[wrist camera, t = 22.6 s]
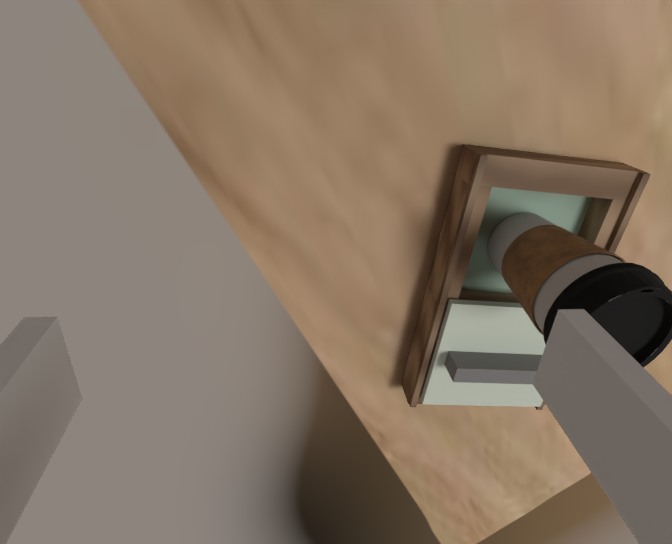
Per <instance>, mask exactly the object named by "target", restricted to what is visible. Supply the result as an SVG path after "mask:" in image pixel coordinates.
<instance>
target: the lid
mask: <svg viewBox="0 0 672 544" xmlns="http://www.w3.org/2000/svg"><path fill="white" fill-rule="evenodd" d="M545 346H546V344H545V341H544V336H543V335H542V334H541V333H540V332H539V331H538V330H537V328H536V327H535V326H534V324H533V323H532V321H531V320H530V318H529V317H528V315H527V314H526V312H525V311H524V309H523V308H522V306H521V305H520V303H507V302H491V301H474V300H457V299H449V302H448V305H447V308H446V312H445V315H444V319H443V322H442V326H441V329H440V333H439V336H438V339H437V343H436V346H435V350H434V353H433V357H432V360H431V364H430V367H429V370H428V374H427V377H426V381H425V384H424V388H423V391H422V394H421V398H420V399H421V402H422V404H432V405H480V406H528V407H540V406H541V404H542V402H543V399H542V398H541V396H540V395H539V393H538V392H537V390H536V389H535V387H534V386H533V381H534V378H535V375H536V372H537V369H538V366H539V363H540V361H541V358H542V355H543V352H544V349H545Z"/></svg>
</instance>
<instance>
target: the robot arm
mask: <svg viewBox="0 0 672 544" xmlns="http://www.w3.org/2000/svg"><path fill="white" fill-rule="evenodd" d="M533 386H534V387H535V389H536V390H537V392H538V393H539V395H540V396H541V398H542V399H543V401H544V402H545V404H546V405H547V407H548V408H549V410H550V411H551V413H552V414H553V416H554V417H555V419H556V420H557V422H558V423H559V425H560V426H561V428H562V429H563V431H564V432H565V434H566V435H567V436H568V438H569V439H570V441H571V442H572V444H573V445H574V447H575V448H576V450H577V451H578V453H579V454H580V456H581V457H582V459H583V460H584V462H585V463H586V465H587V466H588V468H589V469H590V471H591V472H592V474H593V475H594V477H595V478H596V480H597V481H598V483H599V484H600V486H601V487H602V489H603V490H604V492H605V493H606V495H607V496H608V498H609V499H610V501H611V502H612V504H613V505H614V506H615V508H616V510H617V511H618V513H619V514H620V516H621V517H622V519H623V520H624V522H625V523H626V525H627V526H628V528H629V529H630V531H631V532H632V534H633V535H634V537H635V538H636V540H637V541H638V543H639V544H672V395H671V394H670V393H668V392H667V391H666V390H665V389H664V388H663V387H662V386H661V385H660V384H659V383H658V382H657V381H656V380H655V379H654V378H653V377H652V376H651V375H650V374H649V373H648V372H647V371H646V370H645V369H644V368H643V367H642V366H641V365H640V364H639V363H638V362H637V361H636V360H635V359H634V358H633V357H632V356H631V355H630V354H629V353H628V352H627V351H626V350H625V349H624V348H623V347H622V346H621V345H620V344H619V343H618V342H617V341H616V340H615V339H614V338H613V337H612V336H611V335H610V334H609V333H608V332H607V331H606V330H605V329H604V328H603V327H602V326H601V325H600V324H599V323H598V322H597V321H595V320H594V319H593V318H592V317H591V316H590V315H589V314H588V313H587V312H586V311H585V310H584V309H562V310H558V312H557V315H556V317H555V320H554V323H553V326H552V329H551V332H550V335H549V338H548V340H547V343H546V346H545V349H544V352H543V355H542V358H541V361H540V363H539V366H538V369H537V372H536V375H535V378H534V381H533ZM81 401H82V396H81V393H80V390H79V386H78V383H77V380H76V377H75V373H74V370H73V367H72V364H71V360H70V357H69V354H68V350H67V347H66V344H65V341H64V337H63V334H62V331H61V327H60V324H59V321H58V318H57V317H24V318H23V319H22V320H21V322H20V323H19V324H18V325H17V326H16V327H15V328H14V330H13V331H12V332H11V333H10V334H9V335H8V337H7V338H6V339H5V340H4V341H3V342H2V343H1V345H0V544H6V543H7V541H8V539H9V537H10V535H11V533H12V531H13V530H14V528H15V526H16V524H17V522H18V520H19V518H20V516H21V514H22V512H23V511H24V508H25V506H26V505H27V503H28V501H29V499H30V497H31V495H32V493H33V492H34V490H35V488H36V486H37V484H38V482H39V480H40V478H41V476H42V475H43V472H44V471H45V469H46V467H47V465H48V463H49V461H50V459H51V457H52V456H53V454H54V452H55V450H56V448H57V446H58V444H59V442H60V440H61V438H62V437H63V435H64V433H65V431H66V429H67V427H68V425H69V423H70V421H71V419H72V417H73V416H74V414H75V412H76V410H77V408H78V406H79V404H80V402H81Z"/></svg>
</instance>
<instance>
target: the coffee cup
mask: <svg viewBox="0 0 672 544" xmlns="http://www.w3.org/2000/svg"><path fill="white" fill-rule="evenodd" d="M488 255H489V258H490V260H491V262H492V263H493V264H494V266H495V267H496V269H497V270H498V271H499V273H500V274H501V276H502V277H503V278H504V281H505V282H506V284H507V285H508V287H509V288H510V290H511V291H512V293H513V294H514V296H515V297H516V299H517V300H518V302H519V303H520V305H521V306H522V308H523V309H524V311H525V312H526V314H527V315H528V317H529V318H530V320H531V321H532V323H533V324H534V326H535V327H536V328H537V330H538V331H539V332H540V333H541V334H542V335H543V336H544V341H545V344H546V343H547V340H548V338H549V335H550V332H551V329H552V326H553V323H554V320H555V317H556V315H557V312H558V310H562V309H584V310H585V311H586V312H587V313H588V314H589V315H590V316H591V317H592V318H593V319H594V320H595V321H597V322H598V323H599V324H600V325H601V326H602V327H603V328H604V329H605V330H606V331H607V332H608V333H609V334H610V335H611V336H612V337H613V338H614V339H615V340H616V341H617V342H618V343H619V344H620V345H621V346H622V347H623V348H624V349H625V350H626V351H627V352H628V353H629V354H630V355H631V356H632V357H633V358H634V359H635V360H636V361H637V362H638V363H639V364H640V365H641V366H642V367H645V366H646V365H647V364H649V363H650V362H651V361H652V360H654V359H655V358H656V357H657V356H658V355H659V354H660V353H661V352H662V351H663V350H664V349H665V347H666V346H667V345H668V344H669V342H670V341H671V339H672V291H671V290H670V289H668V288H667V287H666V286H665V285H664V282H663V281H662V280H661V279H660V278H659V277H658V275H656V274H655V273H653V272H652V271H650V270H649V269H647V268H645V267H644V266H641V265H637V264H634V263H627V262H626V261H625V260H624V259H622V258H621V257H619V256H617V255H615V254H613V253H611V252H609V251H607V250H605V249H603V248H601V247H599V246H597V245H595V244H593V243H591V242H589V241H587V240H585V239H583V238H581V237H579V236H577V235H575V234H573V233H572V232H570V231H568V230H566V229H564V228H562V227H559V226H557V225H555V224H553V223H551V222H550V221H548V220H546V219H544V218H542V217H540V216H539V215H536V214H533V213H518V214H515V215H512V216H510V217H508V218H506V219H505V220H504V221H502V222H501V223H500V224H499V225H498V226H497V227H496V228H495V230H494V231H493V232H492V234H491V236H490V239H489V242H488Z"/></svg>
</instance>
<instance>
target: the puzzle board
mask: <svg viewBox="0 0 672 544" xmlns="http://www.w3.org/2000/svg"><path fill="white" fill-rule="evenodd" d="M650 175H651V174H648V173H647V172H644V171H642V170H639V169H637V168H634V167H632V166H629V165H627V164H624V163H618V162H609V161H601V160H592V159H584V158H575V157H567V156H558V155H549V154H541V153H532V152H524V151H515V150H507V149H498V148H490V147H481V146H473V145H463V149H462V152H461V156H460V160H459V164H458V168H457V172H456V176H455V179H454V183H453V187H452V191H451V195H450V199H449V202H448V206H447V210H446V214H445V218H444V222H443V226H442V229H441V233H440V237H439V241H438V245H437V249H436V253H435V256H434V260H433V264H432V268H431V272H430V276H429V279H428V283H427V287H426V291H425V295H424V299H423V303H422V306H421V310H420V314H419V318H418V322H417V326H416V329H415V333H414V337H413V341H412V345H411V349H410V353H409V356H408V360H407V364H406V368H405V372H404V376H403V379H402V383H401V384H402V387H403V390H404V393H405V396H406V399H407V401H408V404H409V405H410V407H416V405H417V404H422V402H421V399H420V398H421V394H422V391H423V388H424V384H425V381H426V377H427V374H428V370H429V367H430V364H431V360H432V357H433V353H434V350H435V346H436V343H437V339H438V336H439V333H440V329H441V326H442V322H443V319H444V315H445V312H446V308H447V305H448V302H449V299H457V300H474V301H491V302H507V303H519V302H518V300H517V299H516V297H515V296H514V294H513V293H512V291H511V290H510V288H509V287H508V285H507V284H506V282H505V281H504V278H503V277H502V276H501V274H500V273H499V271H498V270H497V269H496V267H495V266H494V264H493V263H492V262H491V260H490V258H489V255H488V242H489V239H490V236H491V234H492V232H493V231H494V230H495V228H496V227H497V226H498V225H499V224H500V223H501V222H502V221H504V220H505V219H506V218H508V217H510V216H512V215H515V214H518V213H533V214H536V215H539V216H540V217H542V218H544V219H546V220H548V221H550V222H551V223H553V224H555V225H557V226H559V227H562V228H564V229H566V230H568V231H570V232H572V233H573V234H575V235H577V236H579V237H581V238H583V239H585V240H587V241H589V242H591V243H593V244H595V245H597V246H599V247H601V248H603V249H605V250H607V251H609V252H611V253H613V254H614V253H615V250H616V248H617V246H618V244H619V242H620V240H621V237H622V235H623V233H624V231H625V229H626V227H627V224H628V222H629V220H630V218H631V216H632V214H633V211H634V209H635V207H636V205H637V203H638V201H639V198H640V196H641V194H642V192H643V190H644V188H645V185H646V183H647V181H648V179H649V177H650ZM544 404H545V402H544V401H543V402H542V404H541V406H540V407H535V408H536V409H537V410H542V408H543V406H544Z"/></svg>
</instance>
